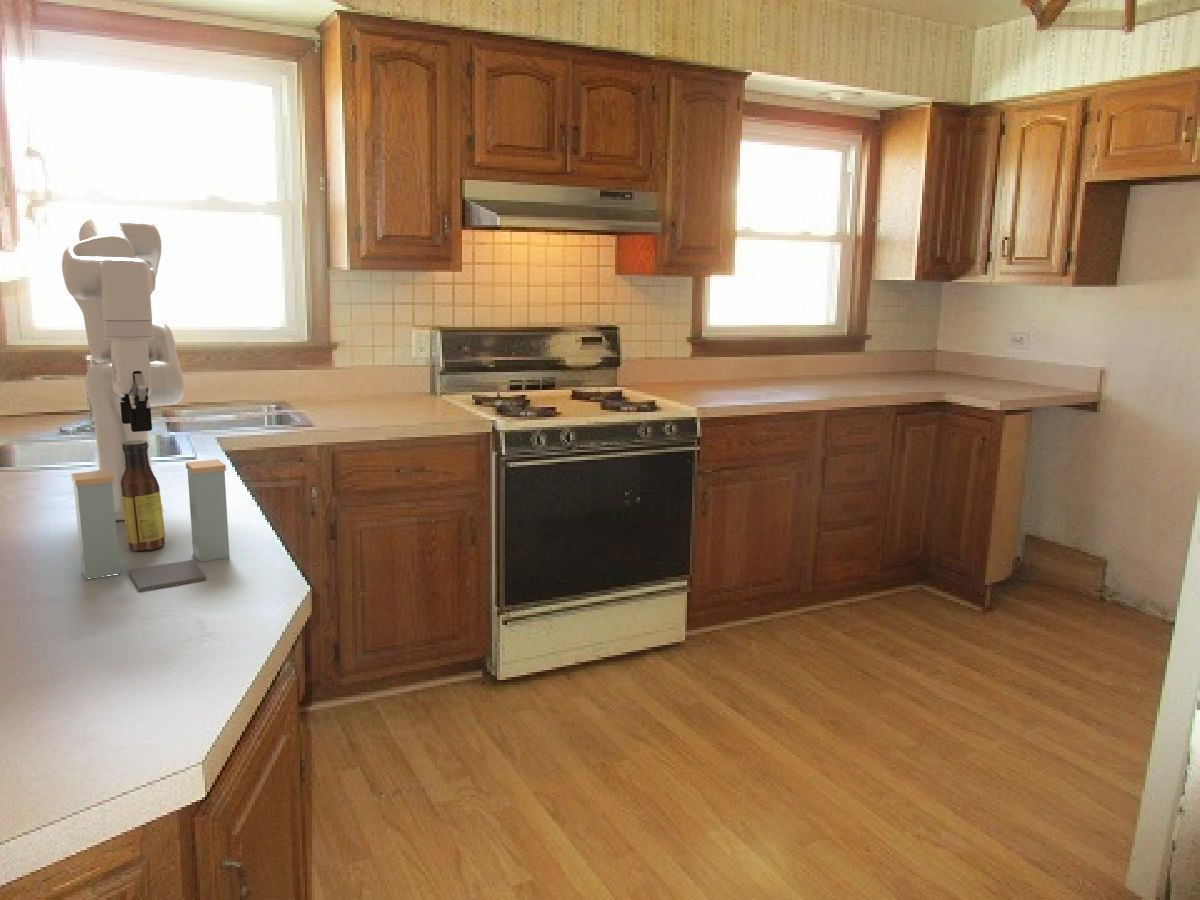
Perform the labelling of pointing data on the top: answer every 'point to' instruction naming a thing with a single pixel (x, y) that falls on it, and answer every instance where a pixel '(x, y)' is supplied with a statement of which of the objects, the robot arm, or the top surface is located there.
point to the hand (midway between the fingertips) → (136, 427)
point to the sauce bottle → (141, 499)
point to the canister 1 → (96, 523)
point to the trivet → (166, 575)
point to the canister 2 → (208, 509)
